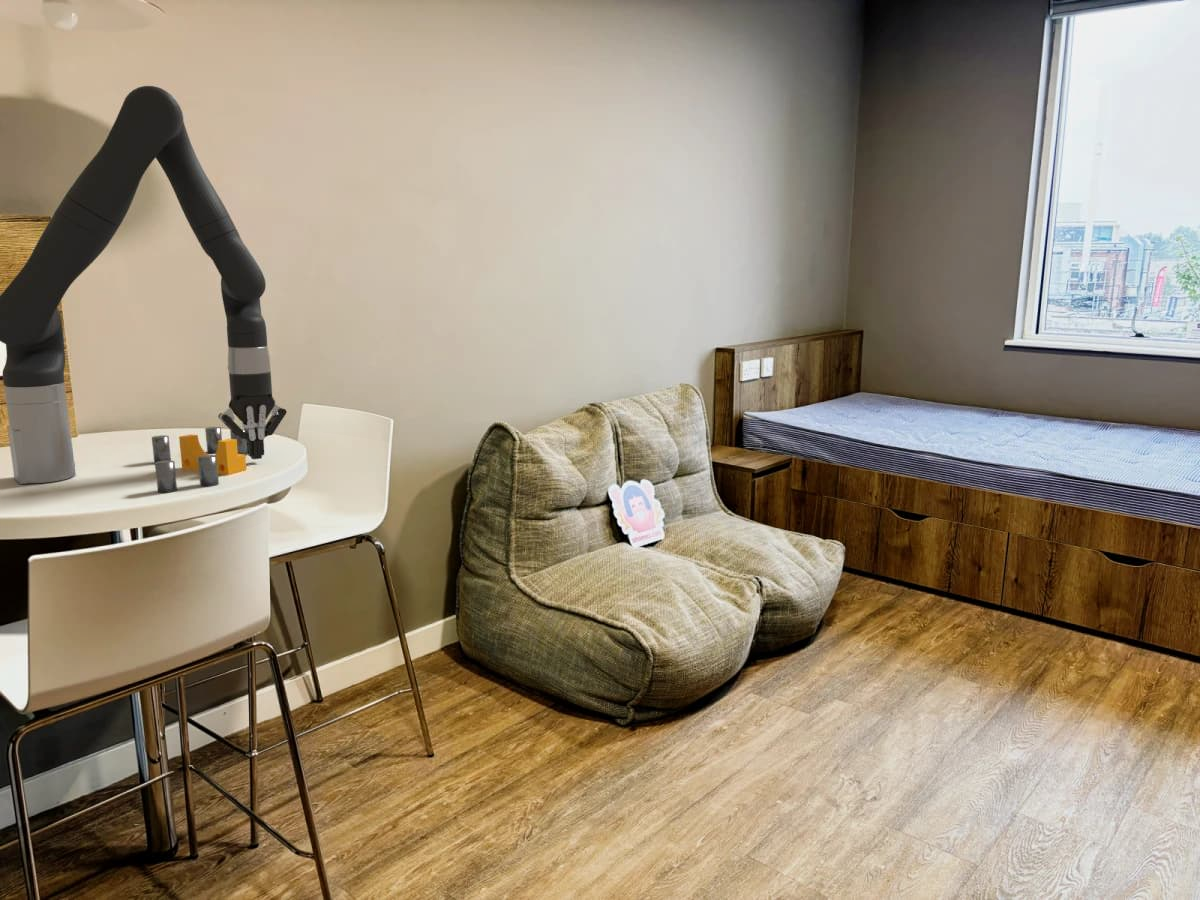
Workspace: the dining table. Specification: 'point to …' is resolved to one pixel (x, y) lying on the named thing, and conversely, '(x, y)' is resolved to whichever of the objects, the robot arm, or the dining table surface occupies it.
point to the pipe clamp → (225, 454)
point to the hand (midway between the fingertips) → (256, 458)
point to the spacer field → (206, 462)
